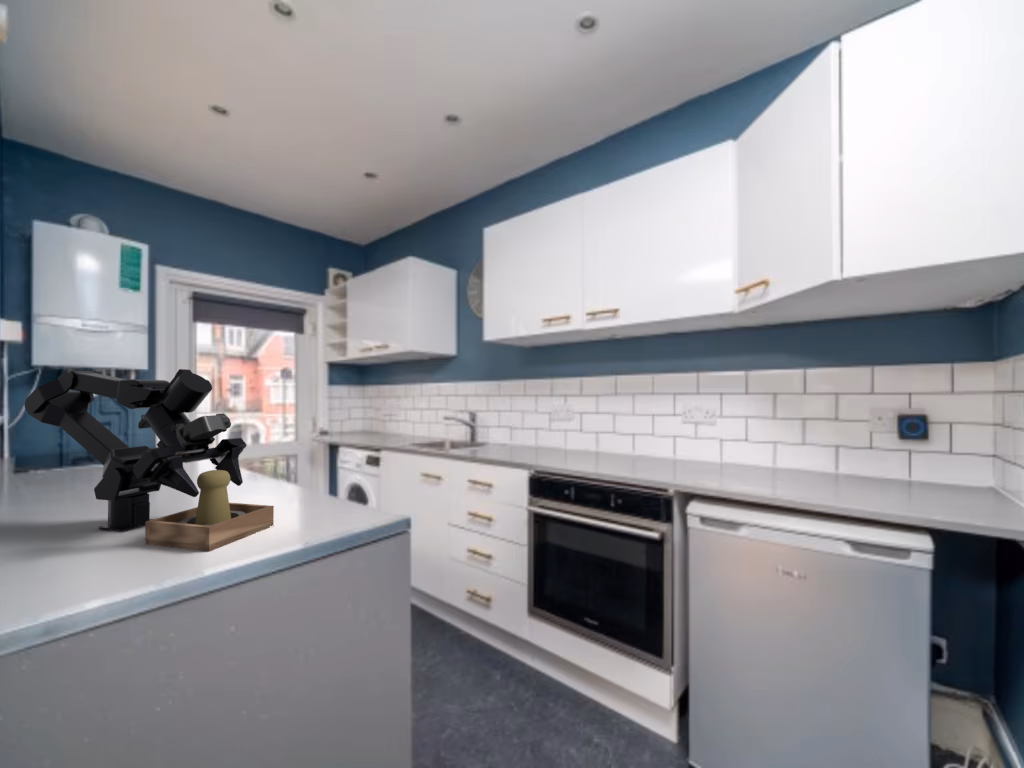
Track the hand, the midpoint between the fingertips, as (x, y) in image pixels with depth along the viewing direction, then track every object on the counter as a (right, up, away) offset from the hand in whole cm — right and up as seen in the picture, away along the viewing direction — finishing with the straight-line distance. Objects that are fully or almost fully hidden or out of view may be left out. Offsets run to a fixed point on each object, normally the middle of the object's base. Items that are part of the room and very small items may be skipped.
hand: (220, 489), depth 80 cm
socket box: (-1, -9, 0) cm, 9 cm away
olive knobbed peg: (-1, -8, 0) cm, 8 cm away
